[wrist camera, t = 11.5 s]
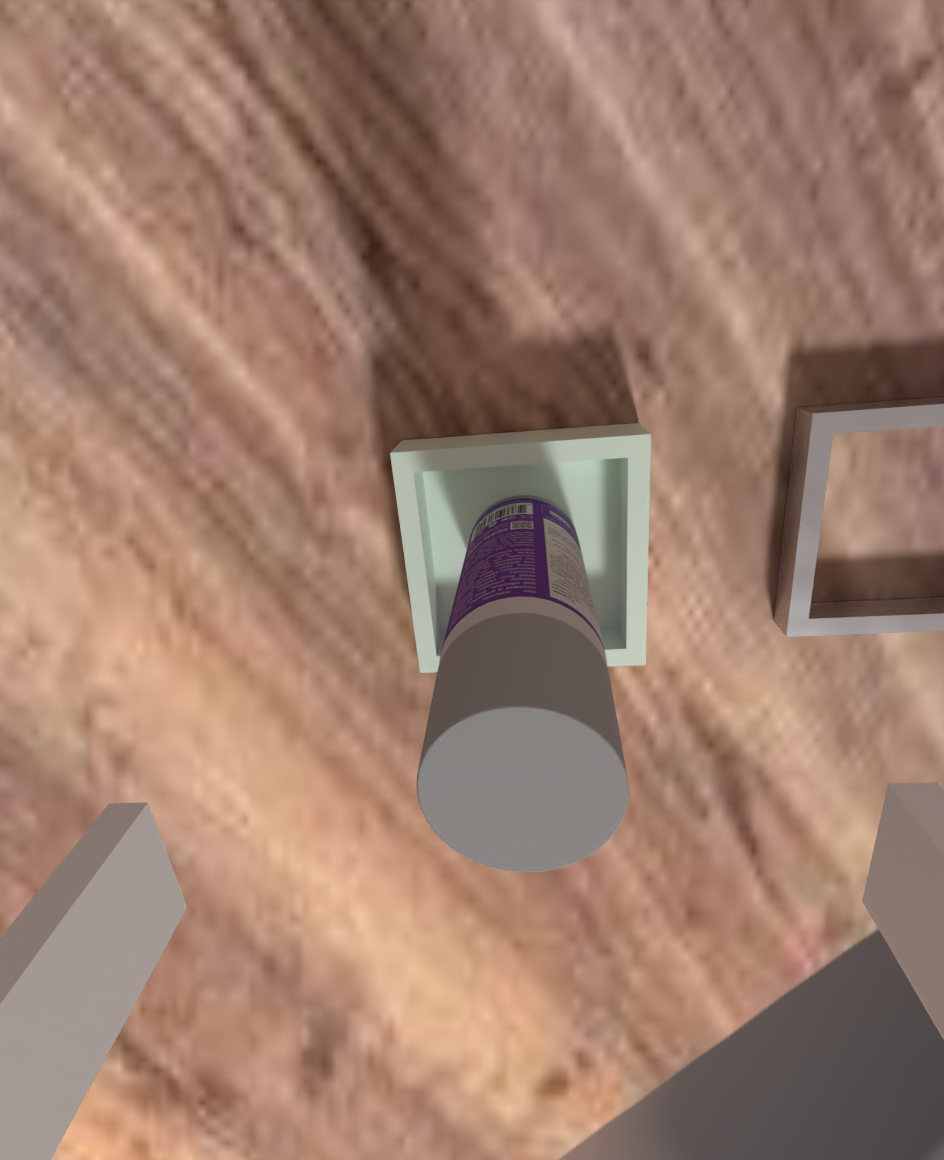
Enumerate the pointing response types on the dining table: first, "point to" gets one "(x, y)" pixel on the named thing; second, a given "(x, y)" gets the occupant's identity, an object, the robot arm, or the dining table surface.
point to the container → (523, 702)
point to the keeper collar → (806, 518)
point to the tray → (536, 468)
